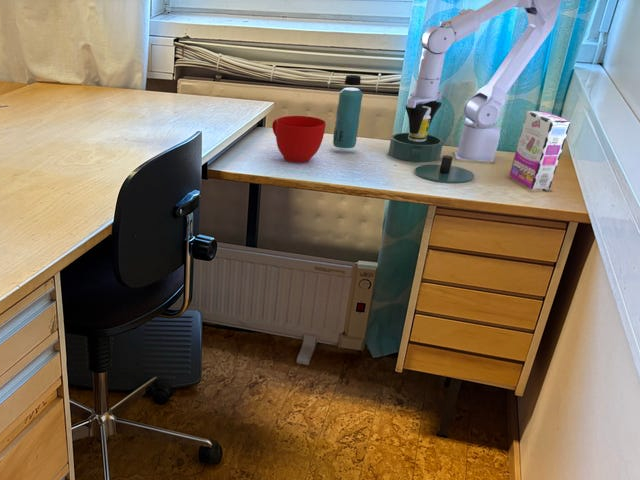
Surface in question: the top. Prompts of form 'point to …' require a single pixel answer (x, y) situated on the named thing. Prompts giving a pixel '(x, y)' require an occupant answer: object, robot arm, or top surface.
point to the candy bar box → (539, 149)
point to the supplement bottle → (422, 128)
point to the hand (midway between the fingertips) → (418, 131)
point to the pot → (415, 148)
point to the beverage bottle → (348, 114)
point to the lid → (444, 172)
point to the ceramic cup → (298, 137)
